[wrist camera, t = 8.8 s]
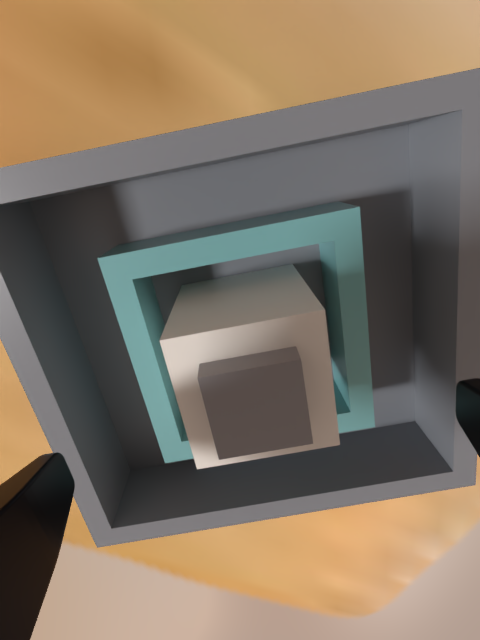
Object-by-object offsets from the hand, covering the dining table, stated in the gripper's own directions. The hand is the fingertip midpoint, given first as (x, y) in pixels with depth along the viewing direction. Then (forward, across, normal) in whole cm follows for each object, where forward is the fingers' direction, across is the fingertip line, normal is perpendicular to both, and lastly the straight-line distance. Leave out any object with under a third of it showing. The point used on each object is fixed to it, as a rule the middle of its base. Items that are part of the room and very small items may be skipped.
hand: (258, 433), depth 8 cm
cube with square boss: (+6, 0, 0) cm, 6 cm away
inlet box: (+7, 0, 0) cm, 7 cm away
